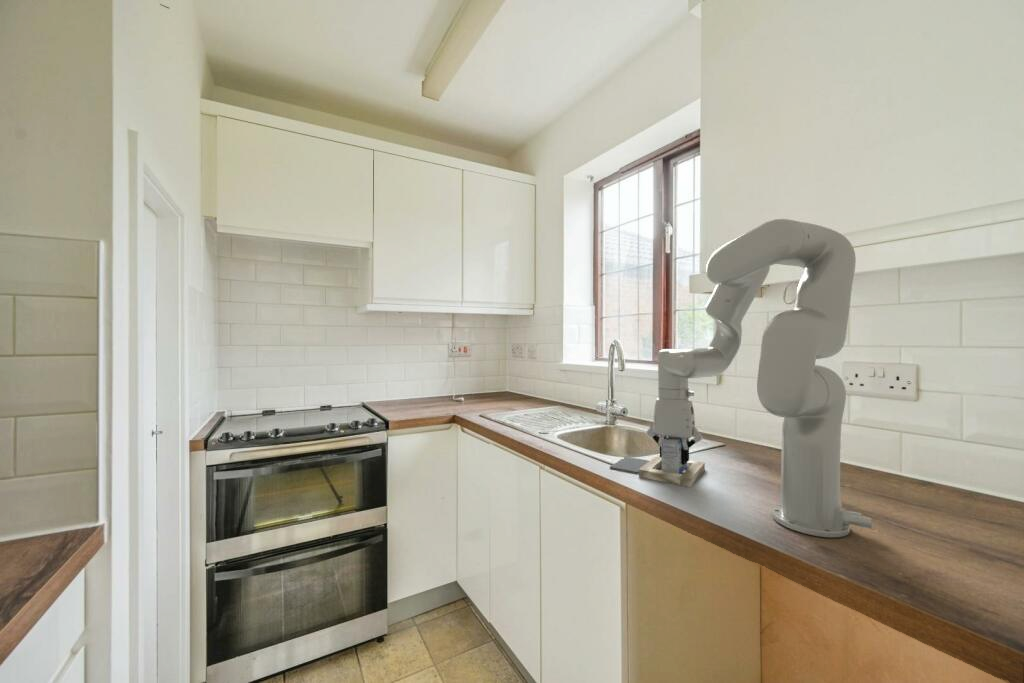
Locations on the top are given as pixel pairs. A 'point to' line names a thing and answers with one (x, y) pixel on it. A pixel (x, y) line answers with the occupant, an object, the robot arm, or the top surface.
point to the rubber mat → (629, 464)
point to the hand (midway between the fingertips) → (674, 461)
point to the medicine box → (672, 455)
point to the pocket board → (686, 479)
